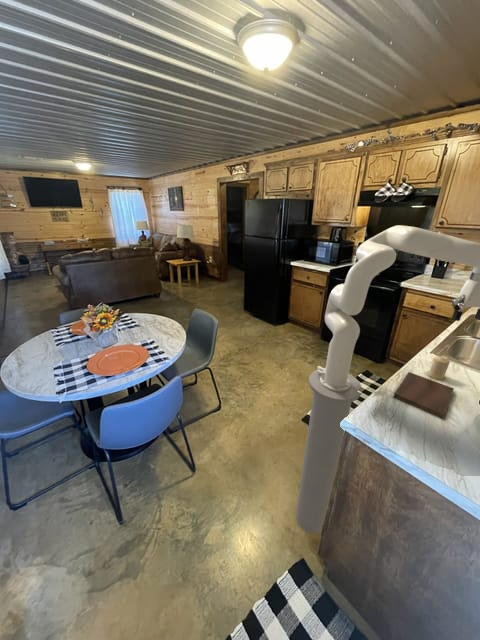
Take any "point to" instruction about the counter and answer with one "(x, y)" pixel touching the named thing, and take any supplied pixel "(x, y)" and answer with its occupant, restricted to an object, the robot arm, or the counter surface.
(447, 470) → the counter surface
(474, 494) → the counter surface
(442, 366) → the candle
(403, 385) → the walnut board
